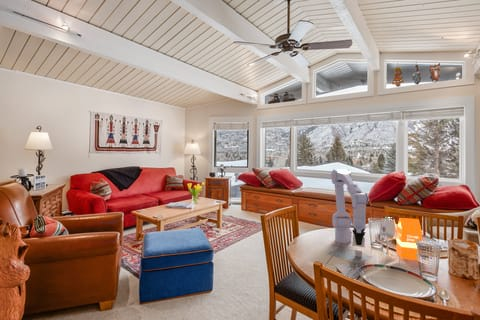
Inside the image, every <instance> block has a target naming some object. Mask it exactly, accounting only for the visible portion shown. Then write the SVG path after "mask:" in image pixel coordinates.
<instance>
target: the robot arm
mask: <svg viewBox="0 0 480 320" xmlns="http://www.w3.org/2000/svg"><path fill="white" fill-rule="evenodd" d="M330 176H331V183H332V184H334V192H335V203H336V211H335V213H333V214H332V217H331V218H332V219H331V223H332V226H333V228H334V229H335V231H334V240H335V241H334V242H336V243H338V244H348V243H352V244H353V241H352V239H353V234H354V236H355V240H356V245H361V244H362V239H363V237H364V235H365V234H366V232H365V230H366V227H367V225H366V220H367V219H366V218H367V217H366V213H367V212H366V211H367V210H366V209H367V206H366V205H367V204H369V196H368V193H366V192H364V191H362V189H361V188H360V187H359V185H358V184H357V183H354V181H353V178H352V172H351V170H350V169H332V171H331V175H330ZM345 185H346V186H347V187H346V189H347V192H348V193H349V195H350V197H351V198H350V199H351V205H352V206H351V207H352V218H351V215H350V214H349V213H348V212H346V211H347V210H346V202H345V201H346V199H345V190H344V186H345ZM351 228H353V229H352V230H351Z"/></svg>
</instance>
